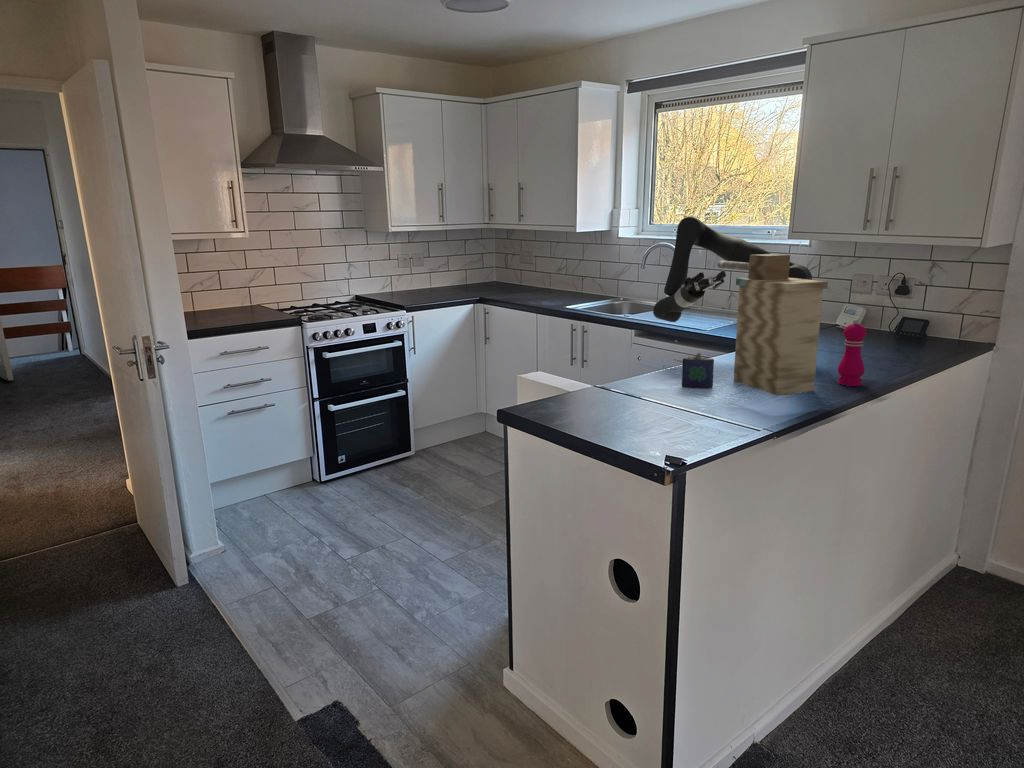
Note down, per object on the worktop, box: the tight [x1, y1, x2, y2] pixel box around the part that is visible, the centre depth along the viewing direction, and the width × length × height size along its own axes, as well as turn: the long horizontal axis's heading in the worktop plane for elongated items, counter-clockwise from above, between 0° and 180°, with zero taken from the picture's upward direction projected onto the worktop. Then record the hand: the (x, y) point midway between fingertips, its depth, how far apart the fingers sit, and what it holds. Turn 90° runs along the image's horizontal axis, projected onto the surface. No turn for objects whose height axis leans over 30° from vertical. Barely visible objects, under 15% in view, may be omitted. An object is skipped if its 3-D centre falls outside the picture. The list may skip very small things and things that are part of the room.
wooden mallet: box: [717, 253, 791, 280], centre depth 204 cm, size 28×8×7 cm, turn 18°
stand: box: [733, 277, 829, 396], centre depth 195 cm, size 22×14×32 cm, turn 18°
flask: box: [681, 352, 715, 389], centre depth 198 cm, size 9×3×11 cm, turn 78°
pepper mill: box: [837, 318, 867, 387], centre depth 197 cm, size 7×7×20 cm
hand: (713, 273), depth 222 cm, fingers open, 8 cm apart
